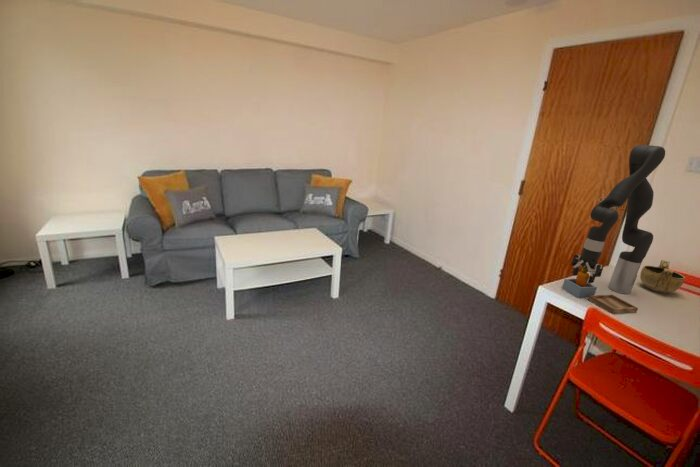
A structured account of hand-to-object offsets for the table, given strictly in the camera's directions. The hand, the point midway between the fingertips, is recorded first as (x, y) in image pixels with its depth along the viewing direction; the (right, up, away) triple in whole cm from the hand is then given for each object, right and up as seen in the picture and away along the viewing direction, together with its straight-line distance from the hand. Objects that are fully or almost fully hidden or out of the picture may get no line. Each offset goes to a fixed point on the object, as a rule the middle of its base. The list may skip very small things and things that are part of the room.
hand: (582, 279), depth 164 cm
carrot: (-1, -8, +3) cm, 8 cm away
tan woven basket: (+51, -8, +16) cm, 54 cm away
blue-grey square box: (-1, -7, +2) cm, 8 cm away
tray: (+8, -12, -8) cm, 16 cm away
